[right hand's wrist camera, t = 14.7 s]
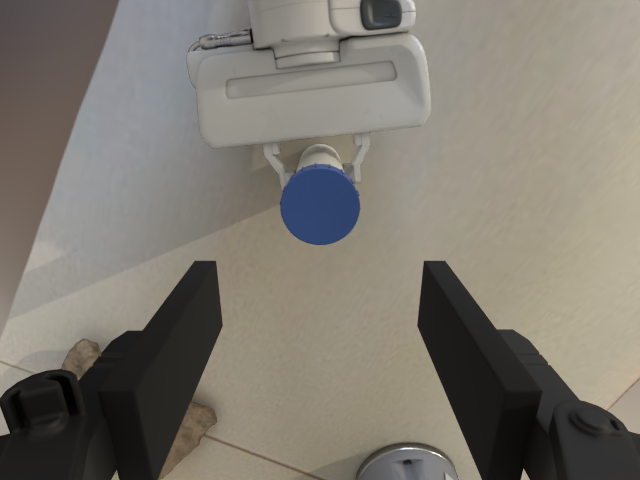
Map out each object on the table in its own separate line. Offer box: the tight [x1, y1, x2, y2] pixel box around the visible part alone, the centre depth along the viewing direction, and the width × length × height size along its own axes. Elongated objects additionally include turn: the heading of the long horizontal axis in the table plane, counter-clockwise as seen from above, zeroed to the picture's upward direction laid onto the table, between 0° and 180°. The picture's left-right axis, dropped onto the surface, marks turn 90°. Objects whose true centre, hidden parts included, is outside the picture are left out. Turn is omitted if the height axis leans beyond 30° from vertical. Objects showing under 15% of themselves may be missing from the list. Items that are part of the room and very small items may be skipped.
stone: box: [61, 339, 217, 480], centre depth 52 cm, size 21×15×6 cm
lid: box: [280, 163, 360, 245], centre depth 27 cm, size 6×6×2 cm
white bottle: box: [296, 144, 344, 172], centre depth 35 cm, size 5×5×17 cm
